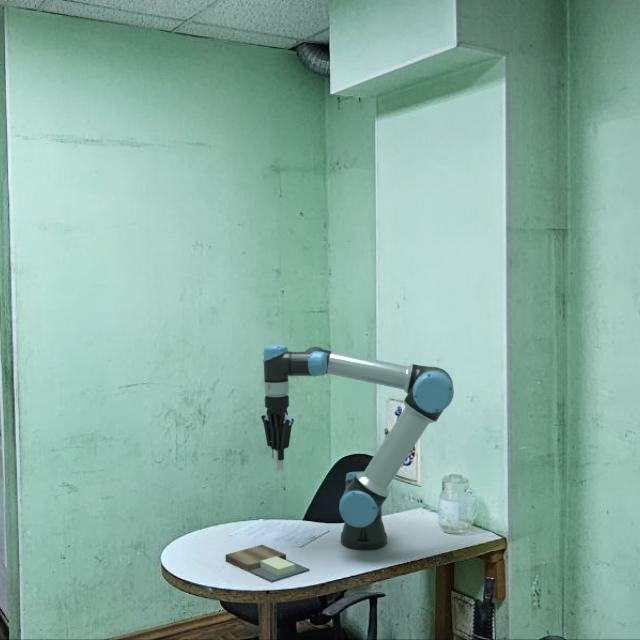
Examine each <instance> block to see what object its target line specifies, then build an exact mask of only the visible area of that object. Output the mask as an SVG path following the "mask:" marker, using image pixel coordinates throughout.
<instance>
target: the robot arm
mask: <svg viewBox="0 0 640 640" xmlns="http://www.w3.org/2000/svg"><path fill="white" fill-rule="evenodd" d="M262 361H263V376H264V377H263V378H264V380H263V382H264V394H265V396H264V408H266V413H265V414H263V415H261V417H260V419H261V420H262V423H263V427H264V433H265V440H266V444H267V447H270V448H271V450H272V459H273V471H275V472H278V471H279V472H280V471H282V470H284V460H285V449H288V448H289V447H290V440H291V433H292V428H293V424H294V421H295V420H294V418H290V417H289V412H288V408H289V406H290V396H289V395H288V394H289V393H290V389H289V387H290V386H289V377H323V376H325V375H326V374H327V375H328V374H329V375H331V376H335V377H342V378H346V379H347V378H348V379H351V380H357V381H360V382H367V383H370V384H375V385H381V386H385V387H390V388H393V389H394V388H395V389H398V390H399V389H400V390H403V391H404V392H405V394H406V396H405V398H404V400H403V403H404V409H403V410H402V412H401V413H400V415H399V417H398V418H397V420H396V421H395V423H394V424H393V426H392V428H391V429H390V430H389V432H388V433H387V435H386V437H385V438H384V439H383V441H382V443H381V445H380V446H379V448H378V449H377V451H376V453H375V454H374V456H373V457H372V459H371V460H370V461H369V463H368V465H367V467H366V468H365V470H364V471H351V472H348V473H346V475H345V480H344V481H345V490H344V492H343V494H342V496H341V498H340V500H339V503H338V504H339V507H338V508H339V509H338V510H339V514H340V516H341V518H342V520H343V521H344V523H343V528H342V531H341V533H340V544H341V545H342V546H344V547H346V548H349V549H353V550H354V549H355V550H362V551H363V550H364V551H365V550H375V549H380V548H383V547H385V546H386V545H387V544H388V534H387V532H386V530H385V525H384V523H383V517H382V516H383V515H382V513H383V511H382V507H383V505H384V503H385V501H386V500H387V498H388V497H389V490H388V487H389V486H390V485H391V483H392V481H393V480H394V478H395V477H396V475H397V473H398V472H399V470H400V469H401V468H402V466H403V464H404V463H405V461H406V460H407V458H408V457H409V455H410V453H411V452H412V450H413V449H414V447H416V444H417V443H418V441H419V440H420V439H421V437H422V435H423V433H424V432H425V430H426V429H427V427H428V425H429V424H432V423H436V422H437V421H438V419H439V418H440V417H441V415H442V413H443V412H444V410H445V409H447V407H449V406H450V404H451V403H452V402H453V398H454V393H455V392H454V391H455V389H454V384H453V383H454V382H453V379H452V377H451V375H450V374H449V372H447V371H446V370H445V369H443V368H440V367H438V366H437V367H436V366H427V365H421V364H420V365H419V364H415V363H411V364H410V365H404V364H403V365H402V364H398V363H394V362H389V361H384V360H383V361H382V360H378V359H373V358H369V357H364V356H358V355H353V354H349V353H345V352H338V351H334V350H330V349H329V350H328V349H324V348H322V347H319V346H311V347H309V348H307V349H306V350H305V351H289V349H288V346H287V345H285V344H273V345H271V344H270V345H267V346H265V347H264V349H263V360H262Z"/></svg>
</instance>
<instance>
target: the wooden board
mask: <svg viewBox="0 0 640 640" xmlns="http://www.w3.org/2000/svg"><path fill="white" fill-rule="evenodd" d="M276 556H277V557H279V558H281V559H284V560H287V554H286V553H284V552H281V551H279V550H276V549H274V548H272V547H269V546H267V545H264V544H259V545H256V546H252V547H248V548H244V549H242V550H238V551H234V552H231V553H228V554H225V562H226V563H229V564H231V565H233V566H235V567H238V568H240V569H241V570H244V571H246V572H248V573H250V570H254V569H257V568H260V561H262V560H265V559H269V558H272V557H276Z"/></svg>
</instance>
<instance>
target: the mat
mask: <svg viewBox="0 0 640 640" xmlns="http://www.w3.org/2000/svg"><path fill="white" fill-rule="evenodd" d="M286 561H288V562H291V563H293V564H295V571H294V572H290V573H287V574H284V575H281V576H278V575H276V574H273V573H271V572H269V571H267V570H265V569H262V568H257V569H254V570H250V572H249V573H250V574H253V575H255V576H257V577H259V578H261V579H264V580H265V581H268V582H270V583H274V582H278V581H280V580H284V579H287V578H291V577H294V576H297V575H299V574H303V573H306V572H309V571H310V568H309V567H305V566H303V565H301V564H298V563H296V562H294V561H292V560H289V559H286Z"/></svg>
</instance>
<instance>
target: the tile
mask: <svg viewBox="0 0 640 640" xmlns="http://www.w3.org/2000/svg"><path fill="white" fill-rule="evenodd" d="M286 560H287V559H286ZM286 560H284V559H281V558H279V557H277V556H276V557H272V558H269V559H265V560H262V561H260V568H262V569H265V570H267V571H269V572H271V573H273V574H276V575H278V576H281V575H284V574H287V573H290V572H294V571H295V564H293V563H291V562H288V561H286Z"/></svg>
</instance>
